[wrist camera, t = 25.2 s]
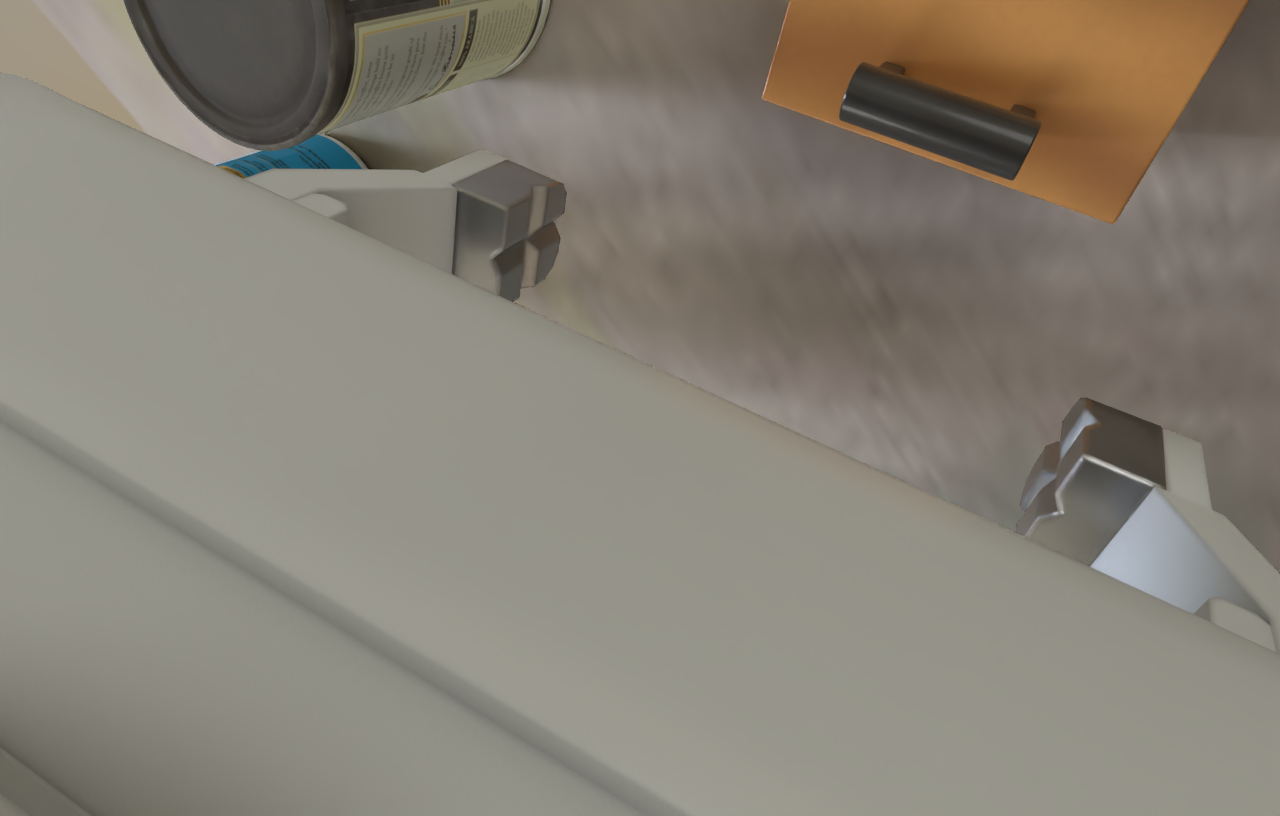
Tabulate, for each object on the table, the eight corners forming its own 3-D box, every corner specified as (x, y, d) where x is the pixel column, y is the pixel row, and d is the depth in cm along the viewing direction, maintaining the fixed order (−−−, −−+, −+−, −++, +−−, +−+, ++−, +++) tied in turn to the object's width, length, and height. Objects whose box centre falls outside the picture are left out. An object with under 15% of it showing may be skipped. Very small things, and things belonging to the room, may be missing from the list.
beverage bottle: (403, 274, 51) (102, 443, 36) (302, 253, 54) (-14, 400, 39) (378, 135, 46) (21, 260, 31) (269, 120, 50) (-103, 228, 35)
